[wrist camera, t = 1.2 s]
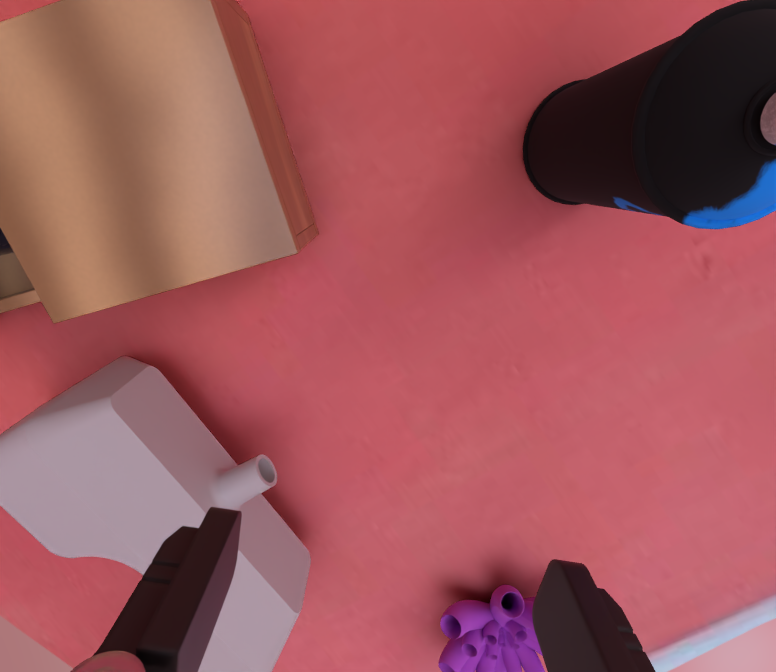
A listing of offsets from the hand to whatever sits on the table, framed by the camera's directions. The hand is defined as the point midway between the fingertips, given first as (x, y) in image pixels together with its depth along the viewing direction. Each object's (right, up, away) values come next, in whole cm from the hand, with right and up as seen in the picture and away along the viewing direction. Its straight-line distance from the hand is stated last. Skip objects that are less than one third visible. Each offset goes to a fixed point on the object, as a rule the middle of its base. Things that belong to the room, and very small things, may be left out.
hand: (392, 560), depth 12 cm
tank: (-16, -6, +30) cm, 35 cm away
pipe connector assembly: (+12, -22, +36) cm, 44 cm away
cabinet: (-15, +18, +21) cm, 32 cm away
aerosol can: (+14, +19, +21) cm, 32 cm away
